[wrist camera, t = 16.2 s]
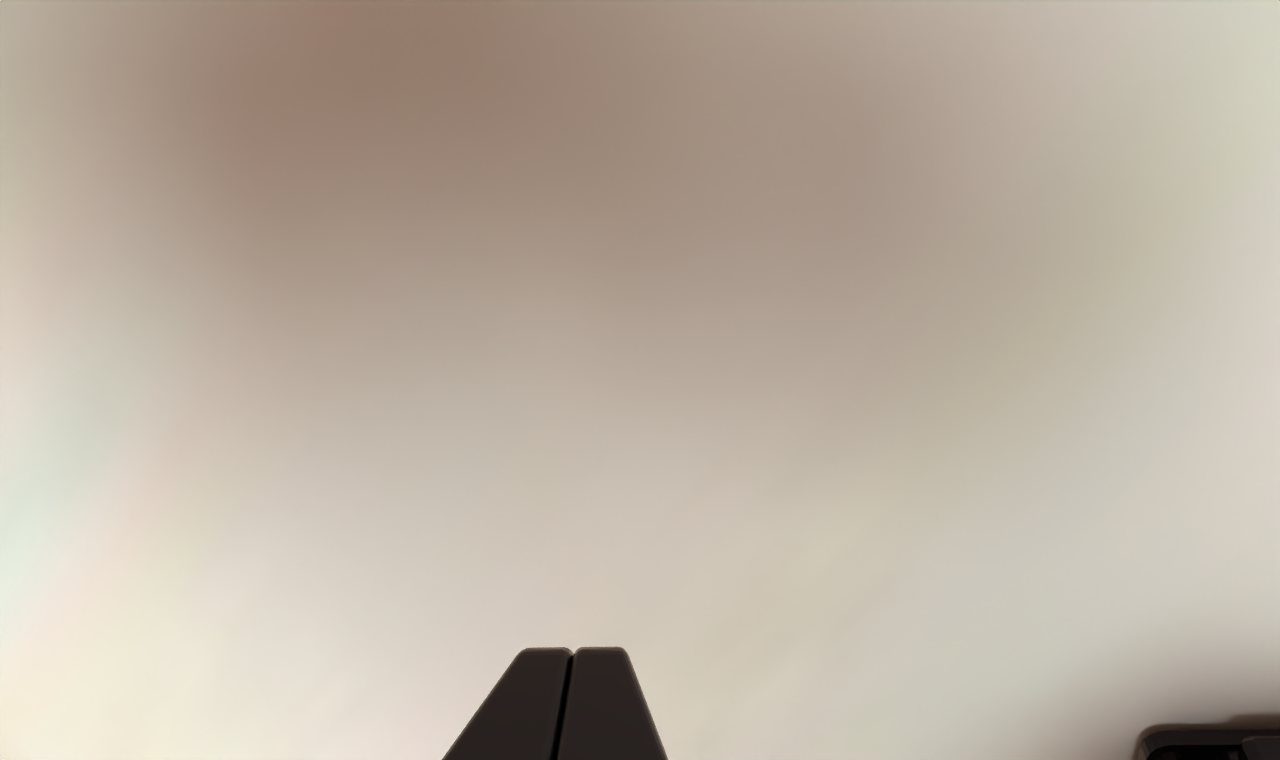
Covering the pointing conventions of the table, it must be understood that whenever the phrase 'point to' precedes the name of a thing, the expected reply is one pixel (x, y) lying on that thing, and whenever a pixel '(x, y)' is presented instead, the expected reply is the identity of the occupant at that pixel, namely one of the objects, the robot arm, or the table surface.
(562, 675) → the robot arm
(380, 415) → the table surface
